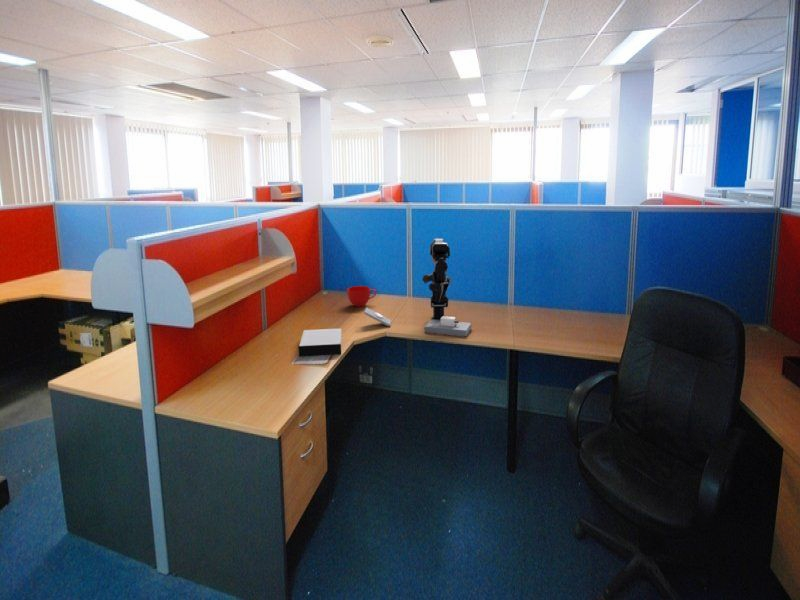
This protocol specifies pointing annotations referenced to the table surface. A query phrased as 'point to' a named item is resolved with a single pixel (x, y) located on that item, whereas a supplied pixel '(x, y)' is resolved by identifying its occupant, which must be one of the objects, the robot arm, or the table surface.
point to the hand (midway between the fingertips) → (440, 300)
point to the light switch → (377, 317)
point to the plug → (448, 321)
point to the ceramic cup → (359, 295)
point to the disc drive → (320, 342)
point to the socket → (448, 328)
